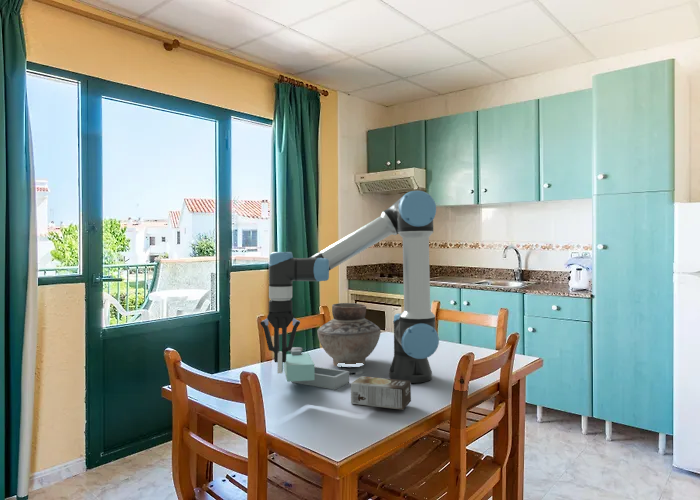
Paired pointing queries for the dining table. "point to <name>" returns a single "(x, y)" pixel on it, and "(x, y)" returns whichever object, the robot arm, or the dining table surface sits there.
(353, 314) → the ceramic pot
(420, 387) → the dining table surface
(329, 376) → the grey box
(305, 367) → the lid
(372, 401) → the coffee box
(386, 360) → the dining table surface
